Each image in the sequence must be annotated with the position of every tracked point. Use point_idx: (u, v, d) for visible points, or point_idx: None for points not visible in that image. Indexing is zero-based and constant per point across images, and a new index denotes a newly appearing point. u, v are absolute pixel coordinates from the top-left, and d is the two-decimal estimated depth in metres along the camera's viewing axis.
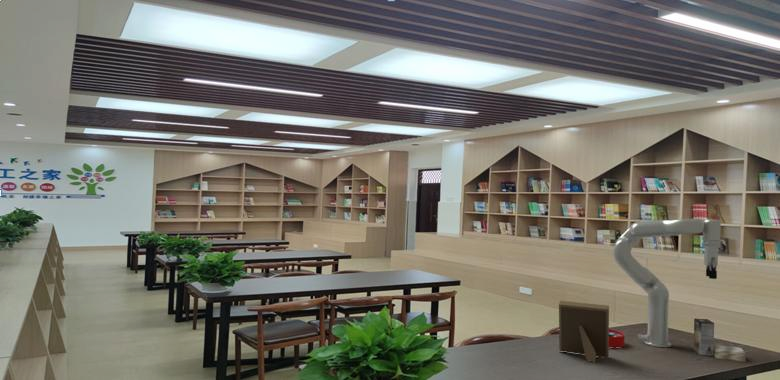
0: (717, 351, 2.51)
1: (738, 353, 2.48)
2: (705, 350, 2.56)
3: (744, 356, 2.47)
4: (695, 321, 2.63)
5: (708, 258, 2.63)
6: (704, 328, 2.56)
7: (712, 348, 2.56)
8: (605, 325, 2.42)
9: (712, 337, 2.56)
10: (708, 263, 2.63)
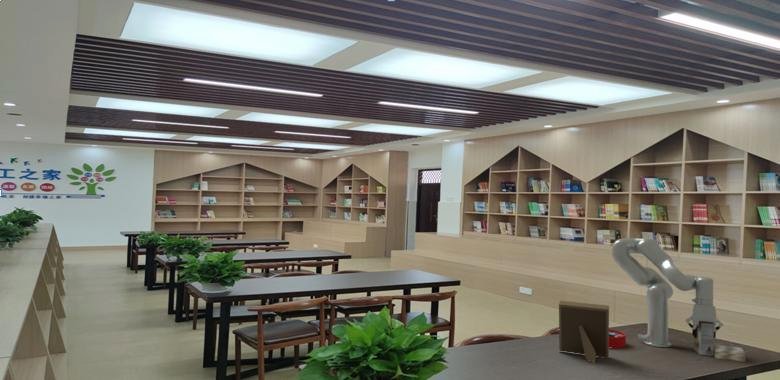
0: (717, 351, 2.51)
1: (738, 353, 2.48)
2: (705, 350, 2.56)
3: (744, 356, 2.47)
4: None
5: None
6: (704, 328, 2.56)
7: (712, 348, 2.56)
8: (605, 325, 2.42)
9: (713, 337, 2.56)
10: (716, 323, 2.57)
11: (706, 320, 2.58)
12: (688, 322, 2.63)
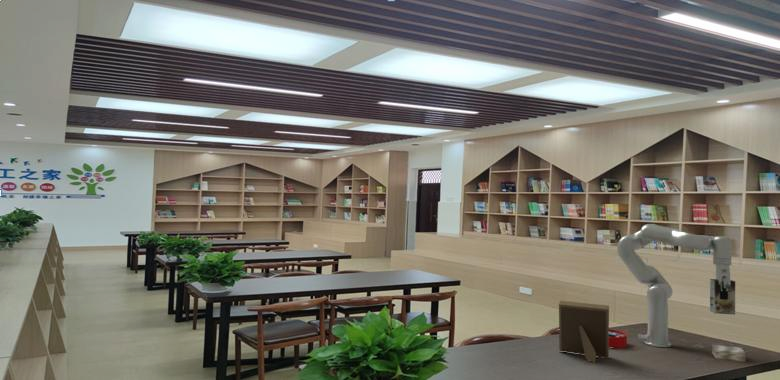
0: (717, 351, 2.51)
1: (738, 353, 2.48)
2: None
3: (744, 356, 2.47)
4: None
5: None
6: None
7: None
8: (605, 325, 2.42)
9: None
10: None
11: None
12: None
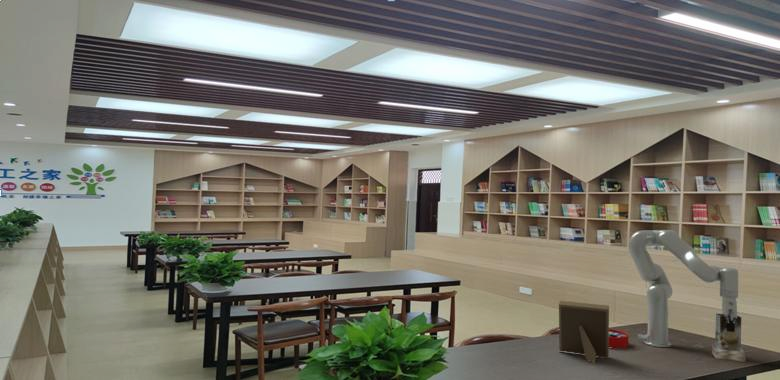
0: (717, 351, 2.51)
1: (738, 353, 2.48)
2: None
3: (744, 356, 2.47)
4: (725, 318, 2.52)
5: None
6: None
7: None
8: (605, 325, 2.42)
9: None
10: None
11: None
12: None
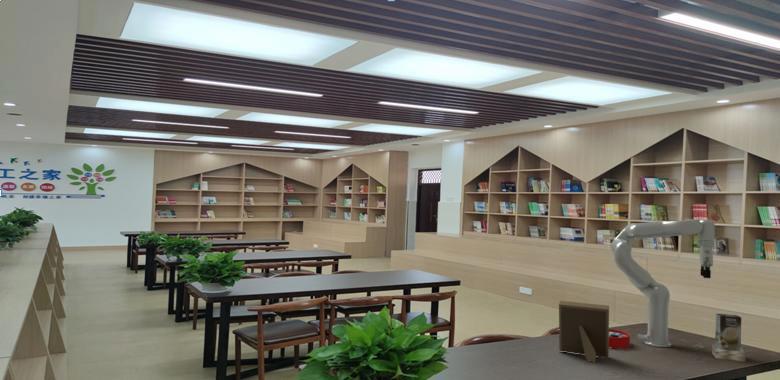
0: (717, 351, 2.51)
1: (738, 353, 2.48)
2: None
3: (744, 356, 2.47)
4: (725, 318, 2.52)
5: None
6: None
7: None
8: (605, 325, 2.42)
9: None
10: None
11: None
12: None
